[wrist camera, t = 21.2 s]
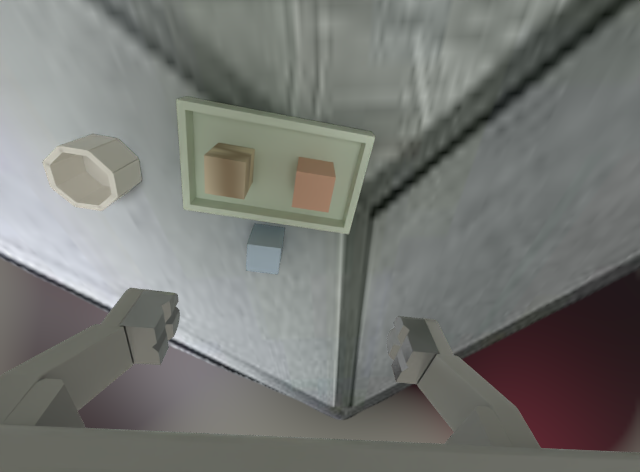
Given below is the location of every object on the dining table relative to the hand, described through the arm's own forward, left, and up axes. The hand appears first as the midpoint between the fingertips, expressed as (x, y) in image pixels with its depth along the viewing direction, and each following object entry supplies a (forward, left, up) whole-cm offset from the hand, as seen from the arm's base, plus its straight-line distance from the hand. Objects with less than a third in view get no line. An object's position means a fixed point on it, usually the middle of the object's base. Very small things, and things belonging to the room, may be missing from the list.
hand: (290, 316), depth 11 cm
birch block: (-8, -4, -25) cm, 27 cm away
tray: (-3, -3, -26) cm, 26 cm away
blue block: (-3, -13, -26) cm, 29 cm away
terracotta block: (+1, -3, -25) cm, 26 cm away
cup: (-22, -6, -26) cm, 35 cm away
